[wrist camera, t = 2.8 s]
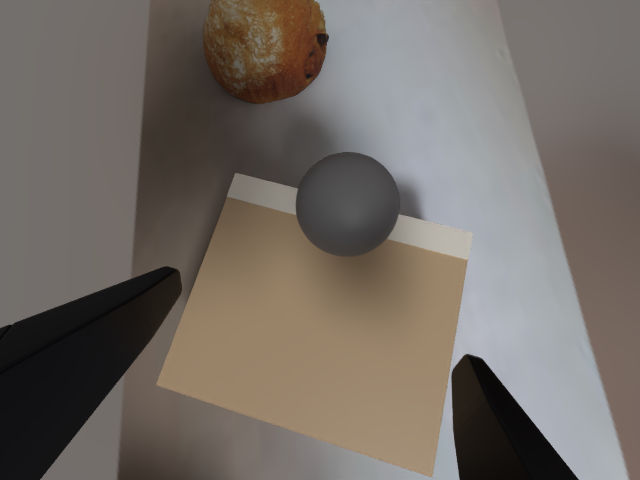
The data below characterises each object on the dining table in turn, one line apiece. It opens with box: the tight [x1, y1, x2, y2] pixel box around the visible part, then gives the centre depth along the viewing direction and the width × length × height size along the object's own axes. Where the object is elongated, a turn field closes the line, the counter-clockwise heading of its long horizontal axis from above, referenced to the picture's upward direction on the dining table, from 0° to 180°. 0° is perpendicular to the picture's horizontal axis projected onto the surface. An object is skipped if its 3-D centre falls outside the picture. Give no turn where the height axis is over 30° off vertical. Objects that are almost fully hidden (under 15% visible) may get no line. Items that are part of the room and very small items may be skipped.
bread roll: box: [203, 0, 329, 104], centre depth 22 cm, size 10×10×8 cm
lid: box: [156, 152, 473, 477], centre depth 12 cm, size 13×14×7 cm
